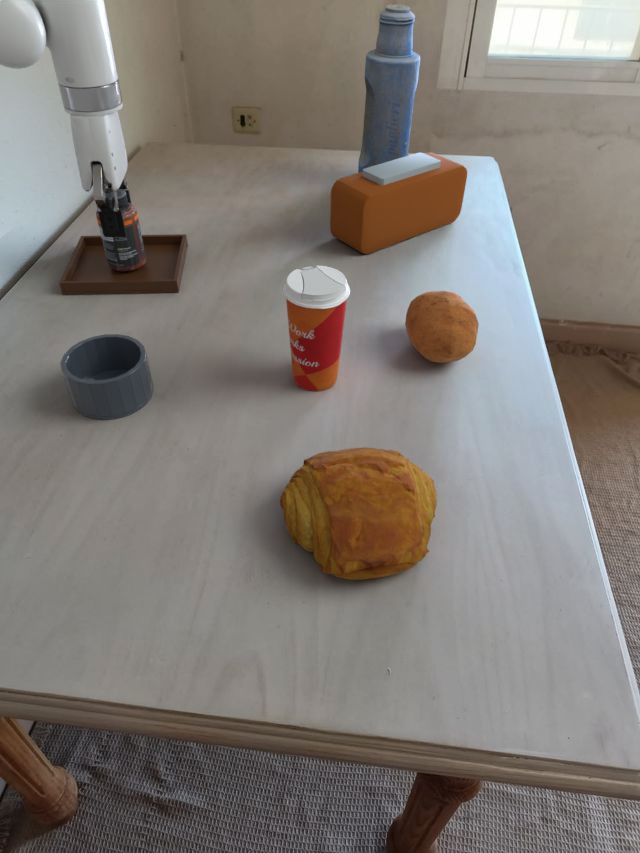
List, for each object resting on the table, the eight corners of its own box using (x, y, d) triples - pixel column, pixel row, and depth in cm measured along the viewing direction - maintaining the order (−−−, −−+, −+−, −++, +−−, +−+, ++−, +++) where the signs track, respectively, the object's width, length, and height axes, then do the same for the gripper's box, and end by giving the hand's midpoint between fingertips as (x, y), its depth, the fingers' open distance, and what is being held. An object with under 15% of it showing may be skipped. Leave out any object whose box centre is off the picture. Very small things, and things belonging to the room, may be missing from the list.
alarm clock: (427, 204, 119) (436, 142, 111) (460, 220, 114) (471, 156, 106) (328, 239, 108) (330, 172, 100) (360, 258, 103) (364, 190, 96)
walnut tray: (62, 295, 94) (58, 283, 92) (83, 246, 105) (80, 235, 103) (178, 292, 95) (176, 280, 93) (187, 245, 106) (186, 234, 104)
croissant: (285, 489, 69) (272, 437, 64) (426, 470, 68) (425, 415, 63) (289, 604, 58) (274, 552, 53) (456, 583, 57) (458, 528, 52)
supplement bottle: (135, 251, 102) (122, 181, 94) (153, 265, 99) (141, 194, 91) (101, 262, 99) (84, 191, 92) (118, 277, 96) (102, 205, 88)
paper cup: (277, 366, 82) (273, 269, 72) (332, 354, 84) (335, 258, 74) (297, 403, 76) (295, 303, 67) (355, 389, 78) (362, 291, 69)
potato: (466, 328, 89) (476, 281, 84) (480, 377, 81) (492, 329, 75) (401, 327, 89) (407, 279, 84) (408, 376, 81) (415, 327, 75)
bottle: (352, 175, 129) (361, 1, 108) (399, 172, 130) (416, 0, 110) (363, 194, 122) (375, 12, 102) (412, 191, 123) (433, 11, 103)
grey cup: (64, 421, 73) (51, 384, 70) (82, 370, 80) (71, 334, 77) (147, 418, 74) (139, 382, 70) (157, 368, 81) (150, 333, 77)
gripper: (76, 77, 88) (104, 202, 101) (45, 117, 76) (81, 253, 88) (130, 77, 89) (152, 201, 101) (108, 116, 76) (135, 253, 89)
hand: (119, 224), depth 95 cm, fingers closed on supplement bottle, 6 cm apart
